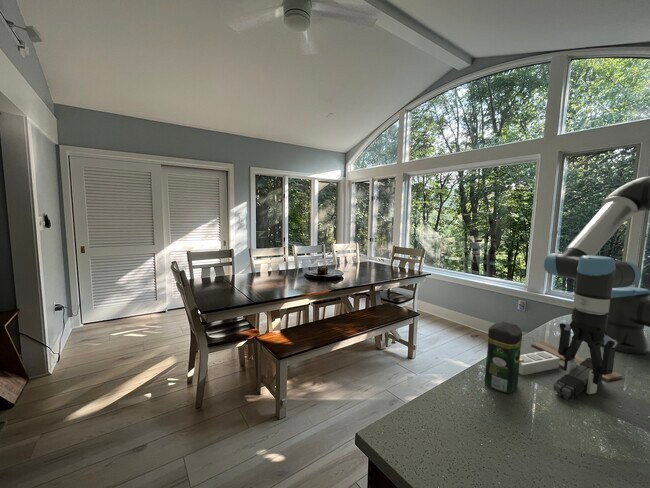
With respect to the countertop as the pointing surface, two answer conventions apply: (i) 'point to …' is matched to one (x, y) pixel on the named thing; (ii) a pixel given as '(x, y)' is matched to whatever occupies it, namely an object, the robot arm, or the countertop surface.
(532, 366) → the power strip
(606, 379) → the walnut board
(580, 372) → the gun
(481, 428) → the countertop surface
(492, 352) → the coffee jar
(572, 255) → the robot arm
